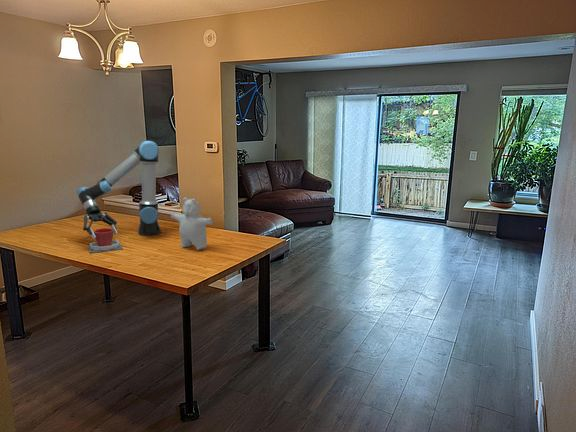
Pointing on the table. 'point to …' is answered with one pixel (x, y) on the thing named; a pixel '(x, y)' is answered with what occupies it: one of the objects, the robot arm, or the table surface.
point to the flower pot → (104, 237)
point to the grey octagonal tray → (104, 247)
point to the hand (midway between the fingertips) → (105, 236)
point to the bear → (192, 225)
